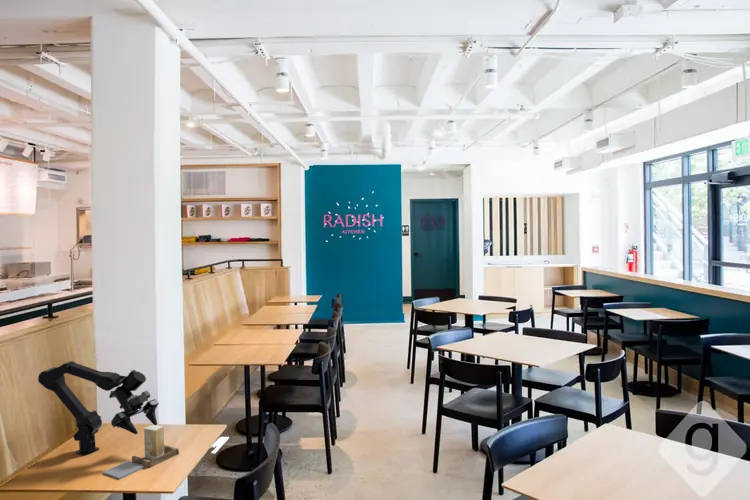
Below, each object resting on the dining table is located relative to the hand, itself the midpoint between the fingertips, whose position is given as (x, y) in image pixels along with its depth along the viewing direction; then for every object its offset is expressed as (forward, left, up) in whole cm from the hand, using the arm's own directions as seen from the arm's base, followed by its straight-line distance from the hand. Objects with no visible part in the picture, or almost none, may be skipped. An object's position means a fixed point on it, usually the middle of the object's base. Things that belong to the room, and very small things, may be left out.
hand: (146, 429), depth 198 cm
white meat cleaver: (+18, +19, -11) cm, 28 cm away
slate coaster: (+3, -12, -11) cm, 17 cm away
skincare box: (+4, 0, -11) cm, 12 cm away
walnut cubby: (+4, 0, -11) cm, 11 cm away
